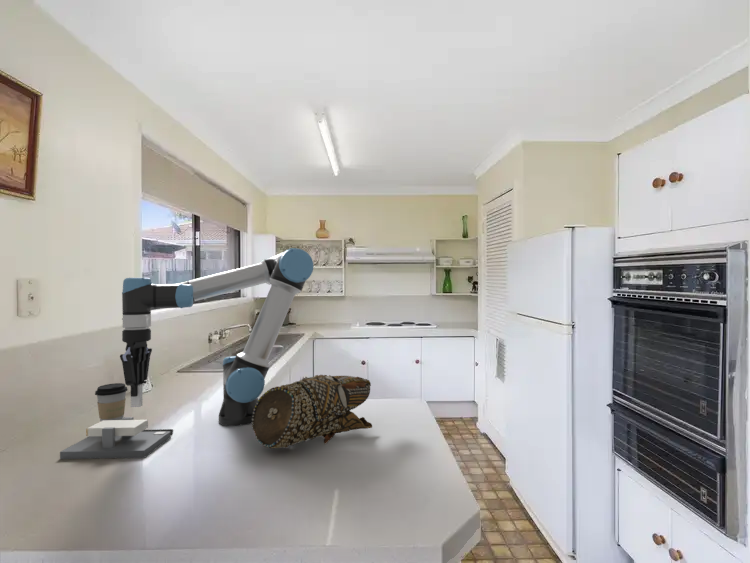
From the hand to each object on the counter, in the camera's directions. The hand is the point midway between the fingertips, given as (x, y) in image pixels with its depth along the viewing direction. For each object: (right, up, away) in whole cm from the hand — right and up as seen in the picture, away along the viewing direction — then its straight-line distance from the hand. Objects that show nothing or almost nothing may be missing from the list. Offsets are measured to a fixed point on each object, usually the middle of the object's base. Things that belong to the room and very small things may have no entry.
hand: (136, 406), depth 123 cm
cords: (-3, -13, +10) cm, 16 cm away
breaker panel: (-5, -13, 0) cm, 14 cm away
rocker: (-6, -8, 0) cm, 10 cm away
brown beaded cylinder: (+54, -12, +5) cm, 56 cm away
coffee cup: (-18, -13, +16) cm, 27 cm away
